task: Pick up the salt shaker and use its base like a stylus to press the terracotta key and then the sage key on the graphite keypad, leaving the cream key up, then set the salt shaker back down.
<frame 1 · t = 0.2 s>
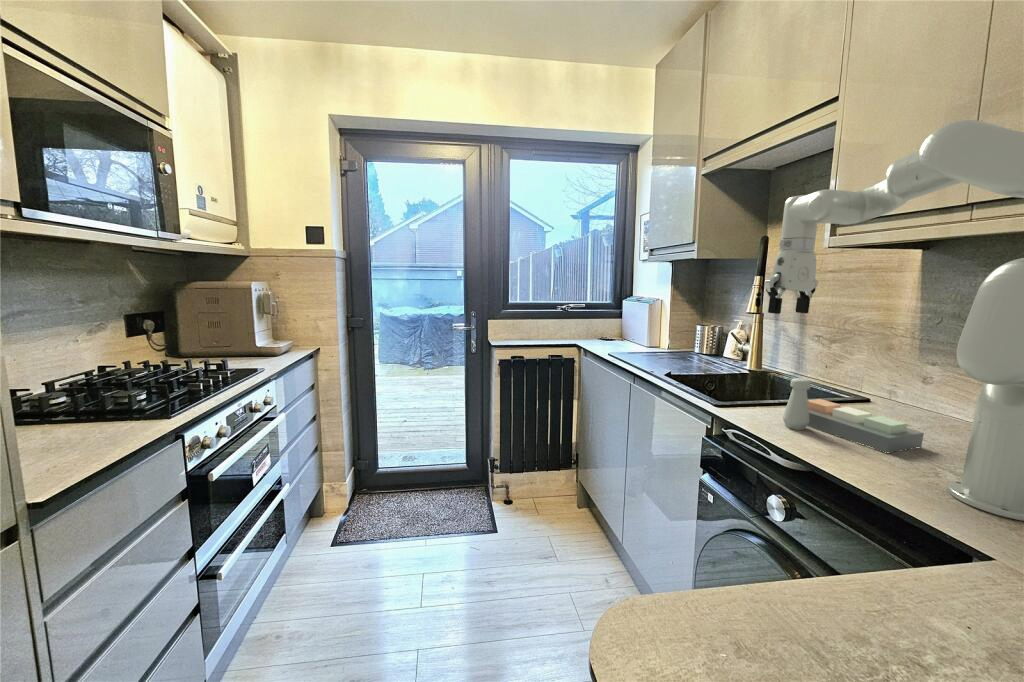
hand: (788, 313, 112), 30 cm above the table, tool pointing down, fingers open, 9 cm apart
salt shaker: (794, 428, 112), on the table
key terracotta: (821, 408, 116), point 4 cm above the table, slide at 0.0 cm
key sage: (884, 427, 101), point 4 cm above the table, slide at 0.0 cm
keypad: (849, 432, 109), on the table
key cream: (851, 417, 109), point 4 cm above the table, slide at 0.0 cm
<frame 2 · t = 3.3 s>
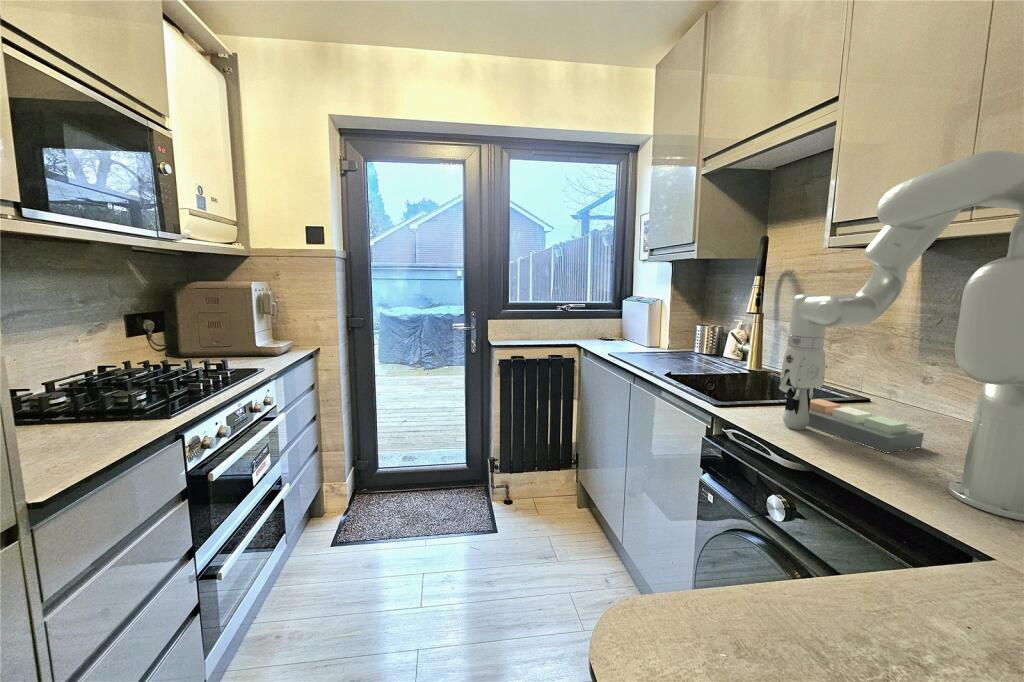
hand: (796, 411, 111), 4 cm above the table, tool pointing down, fingers closed on salt shaker, 3 cm apart
salt shaker: (794, 428, 112), on the table, touching gripper
everything else where it was.
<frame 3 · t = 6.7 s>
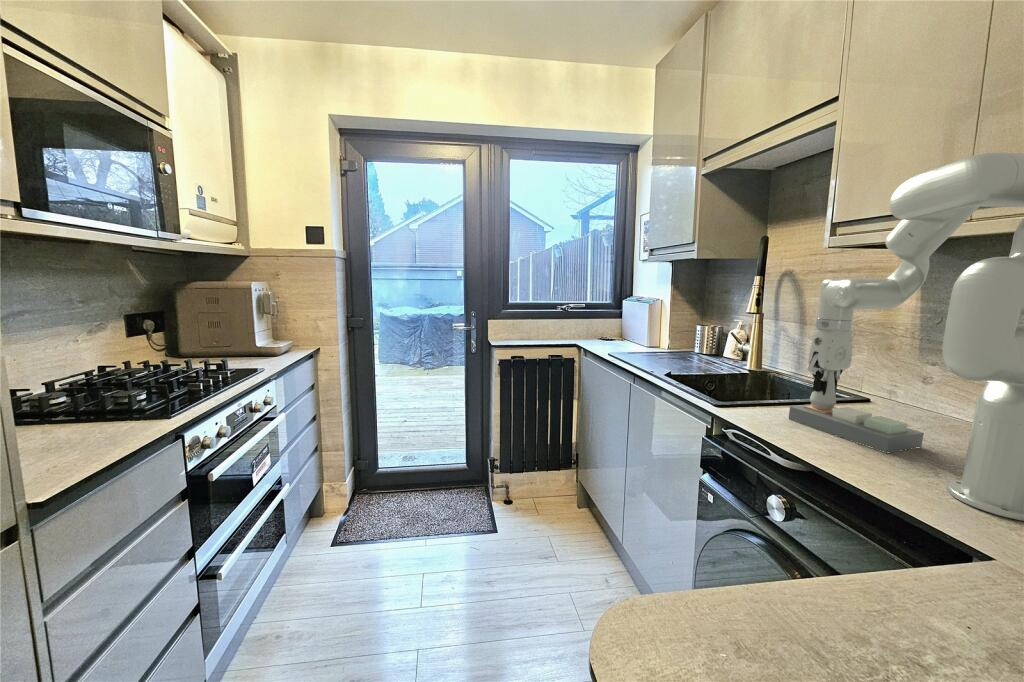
hand: (824, 393, 115), 8 cm above the table, tool pointing down, fingers closed on salt shaker, 3 cm apart
salt shaker: (821, 409, 116), point 4 cm above the table, touching gripper, key terracotta
key terracotta: (821, 414, 116), point 2 cm above the table, slide at 1.6 cm, touching salt shaker
everything else where it was.
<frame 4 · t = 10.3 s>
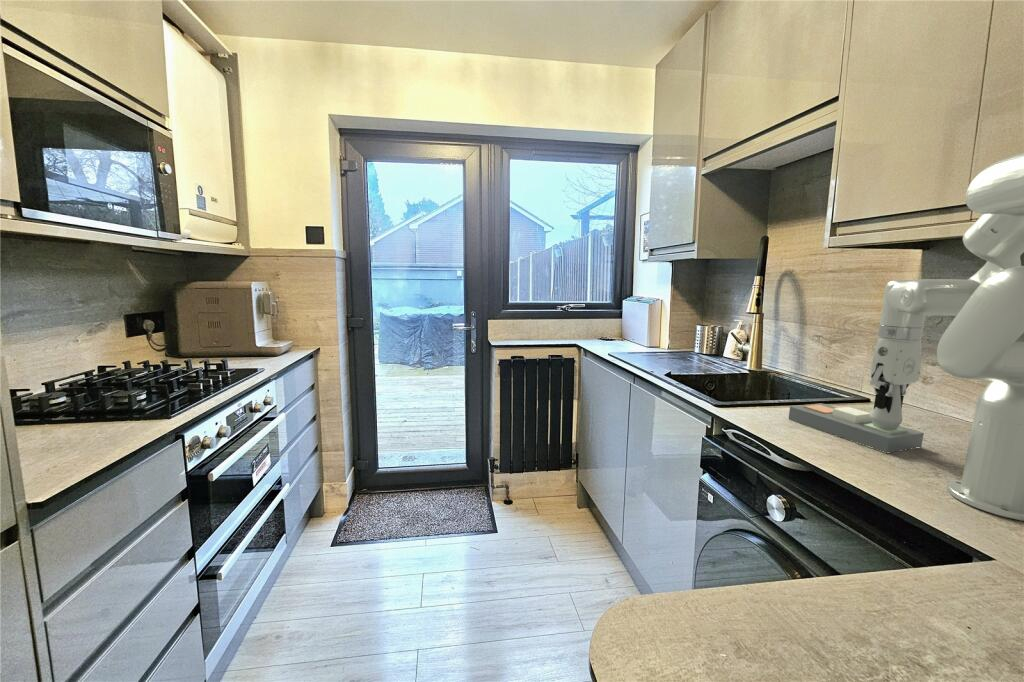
hand: (887, 410, 101), 8 cm above the table, tool pointing down, fingers closed on salt shaker, 3 cm apart
salt shaker: (884, 427, 102), point 4 cm above the table, touching gripper, key sage
key terracotta: (821, 414, 116), point 2 cm above the table, slide at 1.7 cm
key sage: (883, 434, 102), point 2 cm above the table, slide at 1.6 cm, touching salt shaker
everything else where it was.
when the fingers open (6 cm above the table, at t = 14.9 s): salt shaker drops 1 cm, on the table.
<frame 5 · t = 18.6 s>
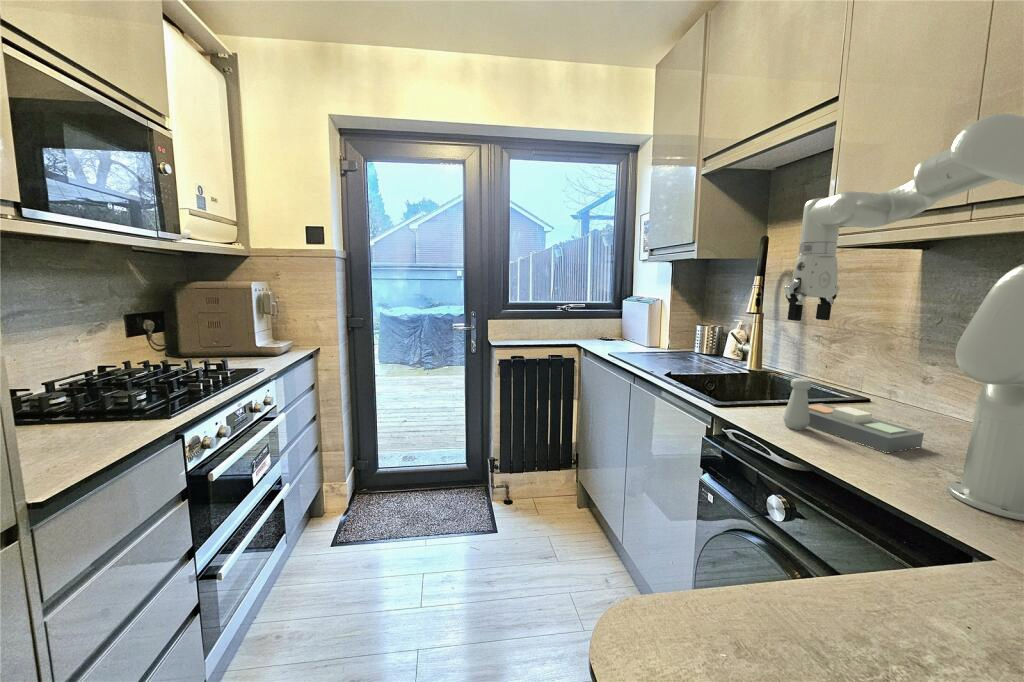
hand: (808, 320, 108), 28 cm above the table, tool pointing down, fingers open, 9 cm apart
salt shaker: (795, 428, 112), on the table
key sage: (883, 434, 102), point 2 cm above the table, slide at 1.6 cm
everything else where it was.
at the end: key terracotta slide at 1.7 cm; key sage slide at 1.6 cm; key cream slide at 0.0 cm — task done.
